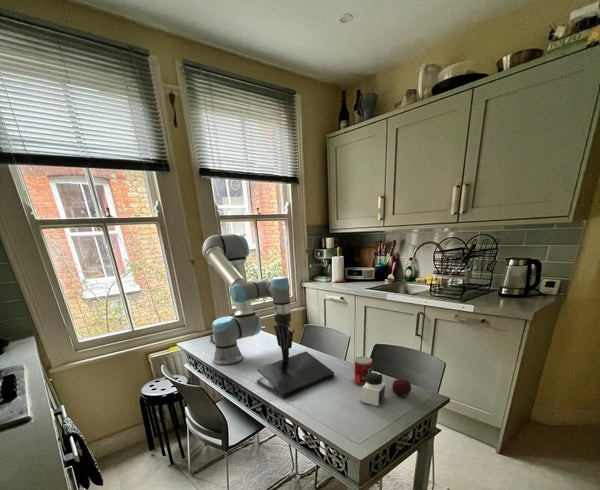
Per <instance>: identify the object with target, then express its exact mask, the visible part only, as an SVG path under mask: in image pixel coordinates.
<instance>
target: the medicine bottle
mask: <svg viewBox="0 0 600 490" xmlns="http://www.w3.org/2000/svg"><path fill="white" fill-rule="evenodd" d="M361 389H362V390H361V402H362V403H363V404H368V405H371V406H375V407H379V406H380V405H381V404H382V402H383V401H384V399H385V393H386V383H384V382H383V375H382V373H380V372H378V371H372V372H370V373H368V374H367V379H366V384H365V385H362V388H361Z"/></svg>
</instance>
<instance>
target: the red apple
mask: <svg viewBox="0 0 600 490" xmlns="http://www.w3.org/2000/svg"><path fill="white" fill-rule="evenodd" d="M391 390H392V393H393V394H394V395H395V396H397V397H405V396H407V395H409V394H410V393H411V391H412V385H411V382H410V381H409V380H407V379H406V378H398V379H395V380H394V381H393V382H392V385H391Z"/></svg>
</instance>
